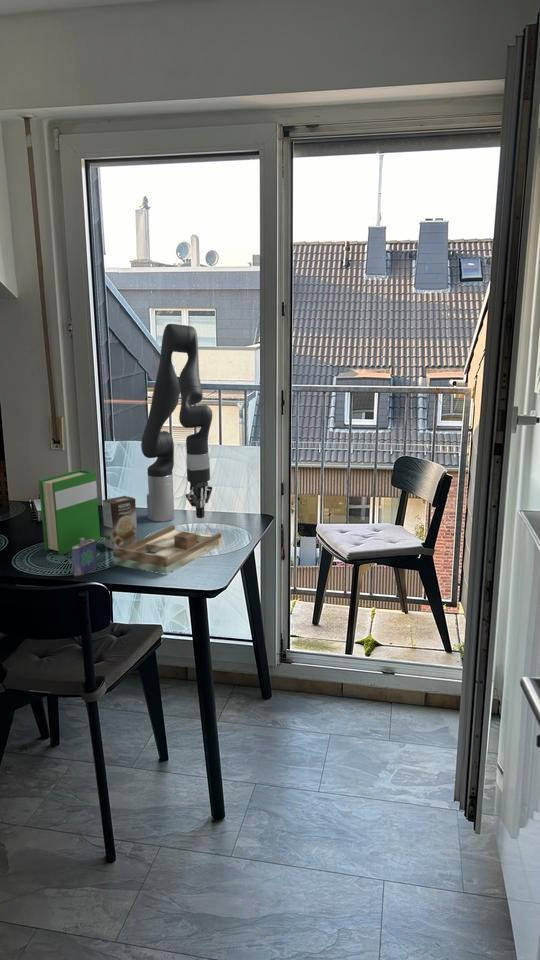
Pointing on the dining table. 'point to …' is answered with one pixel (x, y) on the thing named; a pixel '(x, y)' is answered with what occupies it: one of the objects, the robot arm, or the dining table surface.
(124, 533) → the coffee box
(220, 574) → the dining table surface
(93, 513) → the hardback book
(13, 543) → the dining table surface
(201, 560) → the dining table surface
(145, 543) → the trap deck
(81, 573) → the flask
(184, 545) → the walnut block
